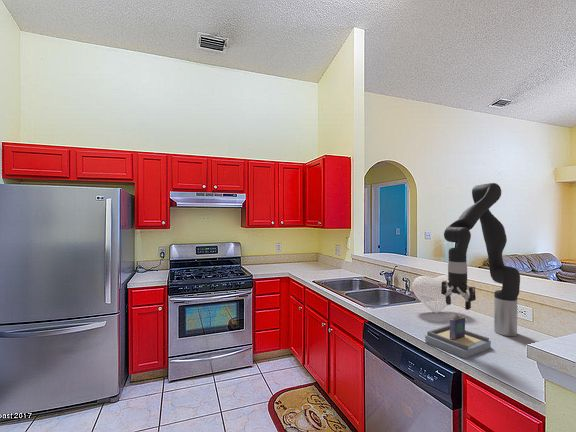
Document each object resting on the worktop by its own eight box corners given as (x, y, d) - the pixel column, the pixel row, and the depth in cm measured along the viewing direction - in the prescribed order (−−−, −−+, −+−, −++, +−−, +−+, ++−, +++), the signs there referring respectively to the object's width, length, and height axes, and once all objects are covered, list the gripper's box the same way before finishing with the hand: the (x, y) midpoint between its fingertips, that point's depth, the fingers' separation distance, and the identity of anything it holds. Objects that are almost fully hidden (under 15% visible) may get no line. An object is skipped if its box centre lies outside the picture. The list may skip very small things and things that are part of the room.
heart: (421, 318, 168) (422, 279, 168) (407, 309, 183) (407, 273, 183) (466, 315, 172) (466, 277, 172) (448, 307, 187) (448, 272, 187)
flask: (453, 340, 131) (453, 316, 131) (447, 338, 133) (447, 314, 133) (466, 337, 135) (466, 313, 135) (460, 334, 137) (460, 311, 137)
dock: (451, 333, 147) (451, 324, 147) (490, 347, 131) (490, 337, 131) (425, 341, 137) (425, 332, 137) (464, 358, 121) (464, 347, 121)
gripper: (478, 272, 129) (479, 309, 129) (447, 267, 142) (447, 301, 142) (469, 274, 126) (469, 313, 126) (437, 269, 138) (438, 304, 138)
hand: (457, 307), depth 134 cm, fingers open, 8 cm apart
